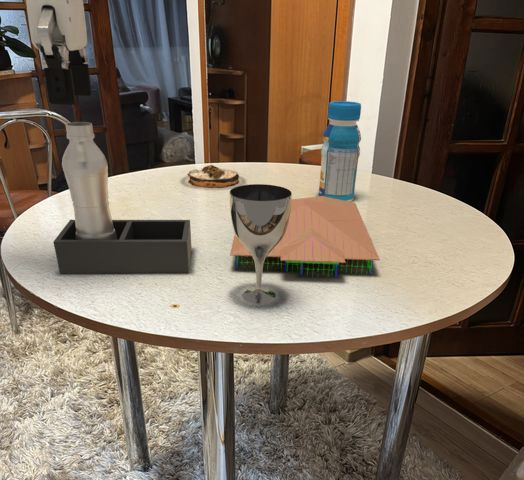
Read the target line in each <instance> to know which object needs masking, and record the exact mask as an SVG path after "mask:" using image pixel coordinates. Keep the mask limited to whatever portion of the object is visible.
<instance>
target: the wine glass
mask: <svg viewBox="0 0 524 480" xmlns="http://www.w3.org/2000/svg"><path fill="white" fill-rule="evenodd" d="M292 196H293V193H292V191H291V189H288V188H286V187H283V186H280V185H274V184H261V183H253V184H252V183H251V184H244V185H239V186H235V187H233V188H231V189H230V190H229V213H230V219H231V225H232V229H233V232H234V235H236V237H237V238H238V239H239V241H240V242H241V243H242V244H243V245H244V246H245V248H246V249H247V250H248V251H249V252H250V254H251V255H252V256H251V258H252V257H253V263H254V269H255V280H256V281H255V288H250V289H246V290H244V291H243V292H242V294H241V298H242V299H243V301H245V302H247V303H251V304H261V305H262V304H267V303H271V302H273V301H274V300H275V299H277V295H276V293H275V292H273V291H272V290H270V289H266V288H263V286H262V284H263V283H262V282H263V271H264V265H265V261H266V259H267V258H268V257H267V255H268V254H269V253H270V252H271V250H272V249H273V248H274V247H275V246H276V245H277V244H278V243H279V242H280V241H281V240H282V238H283V237H284V235H285V233H286V230H287V227H288V223H289V218H290V212H291V200H292V199H293V197H292Z"/></svg>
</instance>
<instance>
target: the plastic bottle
mask: <svg viewBox="0 0 524 480" xmlns="http://www.w3.org/2000/svg"><path fill="white" fill-rule="evenodd" d="M65 130H66V131H65V132H66V139H67V140H68V141H69V143H68V144H67V147H66V148H65V150H64V152H63V155H62V157H61V158H62V161H61V168H62V172H64V173H63V174H64V178H65V180H66V183H67V186H68V190H69V193H70V198H71V201H72V207H73V213H74V220H75V224H76V240H118V239H117V235H116V232H115V229H114V226H113V222H112V220H113V217H112V213H111V208H110V201H109V198H110V197H109V171H108V169H109V167H108V161H107V158H106V155H105V154H104V153H103V151H102V150H101V149H100V147H98V145H97V144H96V142H95V141H94V139H95V138H96V137H95V133H94V127H93V123H92V122H89V121H88V122H87V121H73V122H66V123H65Z"/></svg>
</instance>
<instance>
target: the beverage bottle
mask: <svg viewBox="0 0 524 480" xmlns="http://www.w3.org/2000/svg"><path fill="white" fill-rule="evenodd" d="M361 112H362V104H361V103H360V102H358V101H348V100H335V101H330V102H329V103H328V110H327V119H328V120H329V123H328V125H327V126H326V127H325V130H324V131H323V134H322V140H323V144H322V145H321V148H320V155H321V159H320V160H321V161H320V172H319V173H320V176H319V187H318V193H317V197H319V196H325V197H329V198H334V199H339V200H344V201H349V202H353V200H354V199H355V189H356V181H357V172H358V163H359V157H360V155H361V148H360V142H361V141H362V134H361V130H360V128H359V126H358V124H357V122H359V121H360V119H361Z"/></svg>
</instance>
